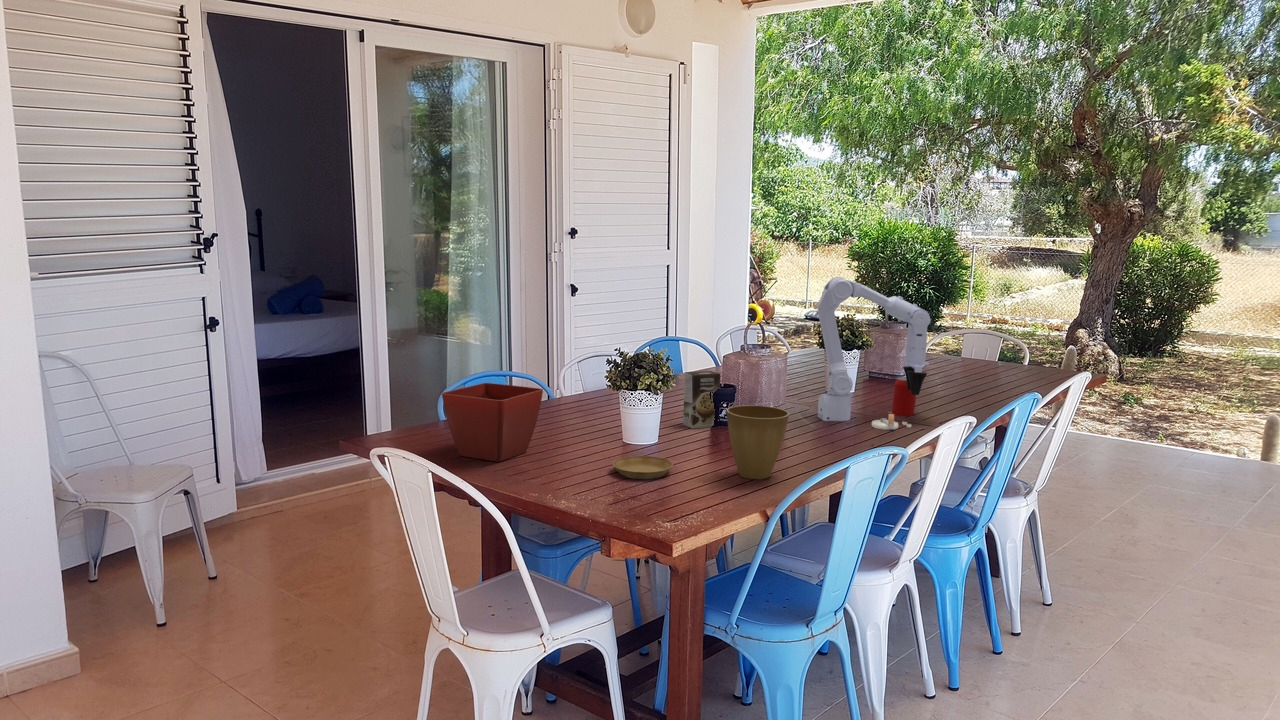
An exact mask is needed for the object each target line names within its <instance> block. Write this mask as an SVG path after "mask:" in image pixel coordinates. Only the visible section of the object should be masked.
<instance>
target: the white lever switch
mask: <svg viewBox="0 0 1280 720" xmlns="http://www.w3.org/2000/svg"><path fill="white" fill-rule="evenodd" d="M871 427H872V428H874V429H879V430H889V431H891V430H897V429H899V422H897V421H895V415H894V414H892V413H888V418H886V417H880V419H874V420H872V421H871Z"/></svg>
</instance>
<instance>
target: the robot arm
mask: <svg viewBox="0 0 1280 720" xmlns="http://www.w3.org/2000/svg"><path fill="white" fill-rule="evenodd" d="M849 298H853V299H854V298H862V299H865V300H867V301H869V302H872V303H873V304H876V305H879V306H881V307H882V308H884V312H885V313H886V314H887V315H889V316H892V317H893V318H895V319H897V320H900V321H901V322H904V323H907V324H908V327H907V335H906V336H907V337H906V349H905V361H904V365H905V366H902V368H903V371H904V374H905V378H906V380H907V388H908V390H911V394H912V395H916V396H919V395H920V393H921V389H922V386H923V383H924V380H925V378H926V377H927V375H928V372H925V371H924V372H923V368H924V367H925V366H927V367H928V366H929V365H930V362H929V361H928V362H926V355H927V343H928V342H927V341H928V326H929V325H930V323H931V320H932V319H931V317H930V314H929V312H928V311H927V310H925V309H923V308H921V307H920V306H918V304H916V303H913V304H912V303H910V302H909V301H906V300H904V297H903V296H900V295H898V296H896V295H893V296H890V297H887V296H885V295H884V294H882V293H879V292H877V291H876V290H874V289H871V288H870V287H868V286H866V285H864V284H862V283H859V282H857V281H852V280H849V279H845V278H843V277H840V276H836V277H832V278H831V279H830V280H829V281H828V282H827V283H826V284H825V285H824V287H823V291H822V294H821V296H820V299H819V300H818V301H819V302H818V304H817V305H816V306H817V307H816V308H817V313H818V319H819V324H820V329H821V333H822V338H823V339H822V340H823V344H824V348H825V353H826V359H827V365H828V366H827V367H828V369H827V370H828V376H827V384H828V385H829V389H828V390H827V391H826V393H821V394H819V396H818V400H817V402H818V404H817V405H818V406H817V418H819V419H821V420H822V421H823V422H848V421H850V420H851V411H852V409H851V407H852V392H851V391H852V389H853V385H854V384H853V380H852V378H851V377H850V376H849V374H848V370H847V367H846V364H845V359H844V355H843V354H844V353H843V350H842V345H841V339H840V335H839V330H838V323H837V318H836V314H835V311H836V310H837V309H838V307H839V306H840V305H841V304H842V303H843V302H845V301H847V300H848V299H849ZM929 367H930V366H929Z"/></svg>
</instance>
